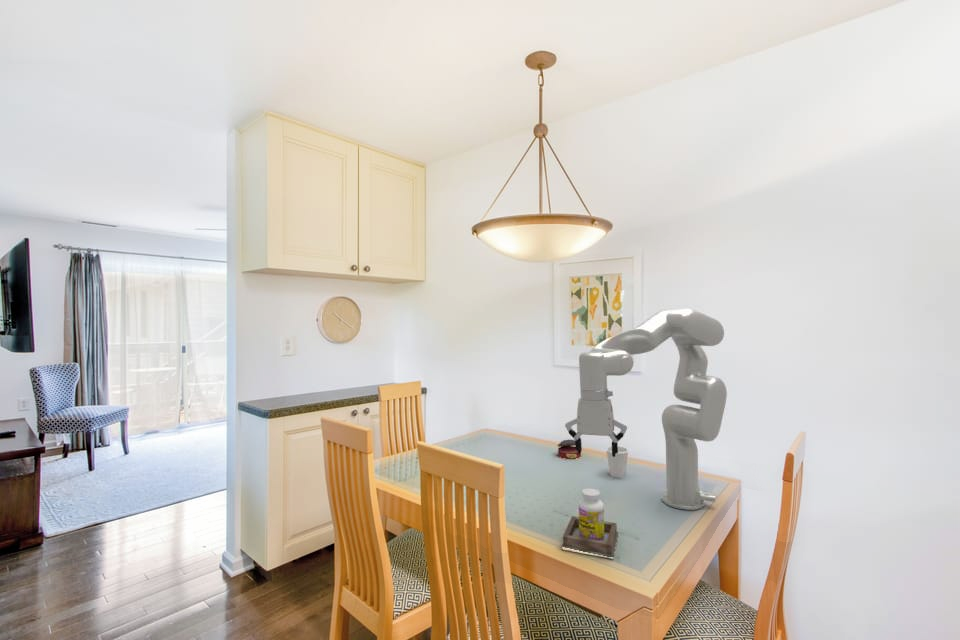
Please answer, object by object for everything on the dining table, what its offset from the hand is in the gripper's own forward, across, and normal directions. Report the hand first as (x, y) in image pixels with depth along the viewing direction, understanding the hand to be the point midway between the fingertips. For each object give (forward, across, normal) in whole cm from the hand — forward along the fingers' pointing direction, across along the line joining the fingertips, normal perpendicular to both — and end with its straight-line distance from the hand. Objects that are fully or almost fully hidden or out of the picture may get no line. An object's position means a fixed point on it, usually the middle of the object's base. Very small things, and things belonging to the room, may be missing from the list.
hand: (596, 454), depth 125 cm
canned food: (+23, +20, -63) cm, 70 cm away
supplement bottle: (+21, +1, +8) cm, 22 cm away
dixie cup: (+23, -2, -45) cm, 51 cm away
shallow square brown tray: (+22, +2, +9) cm, 23 cm away
